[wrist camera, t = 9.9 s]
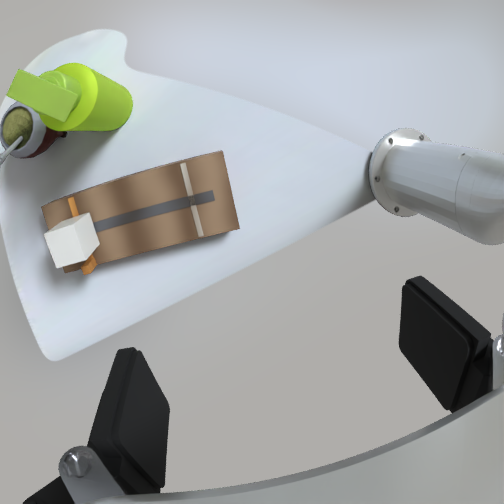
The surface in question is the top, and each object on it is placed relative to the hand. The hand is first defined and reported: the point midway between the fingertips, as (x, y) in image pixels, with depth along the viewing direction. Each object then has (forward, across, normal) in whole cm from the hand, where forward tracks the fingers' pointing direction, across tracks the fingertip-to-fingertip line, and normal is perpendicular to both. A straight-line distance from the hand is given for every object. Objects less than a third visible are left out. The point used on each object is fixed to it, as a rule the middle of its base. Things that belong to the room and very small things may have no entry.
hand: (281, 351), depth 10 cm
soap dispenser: (+30, +11, -14) cm, 35 cm away
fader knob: (+26, +18, -1) cm, 32 cm away
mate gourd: (+30, +20, -14) cm, 39 cm away
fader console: (+30, +11, -1) cm, 32 cm away
